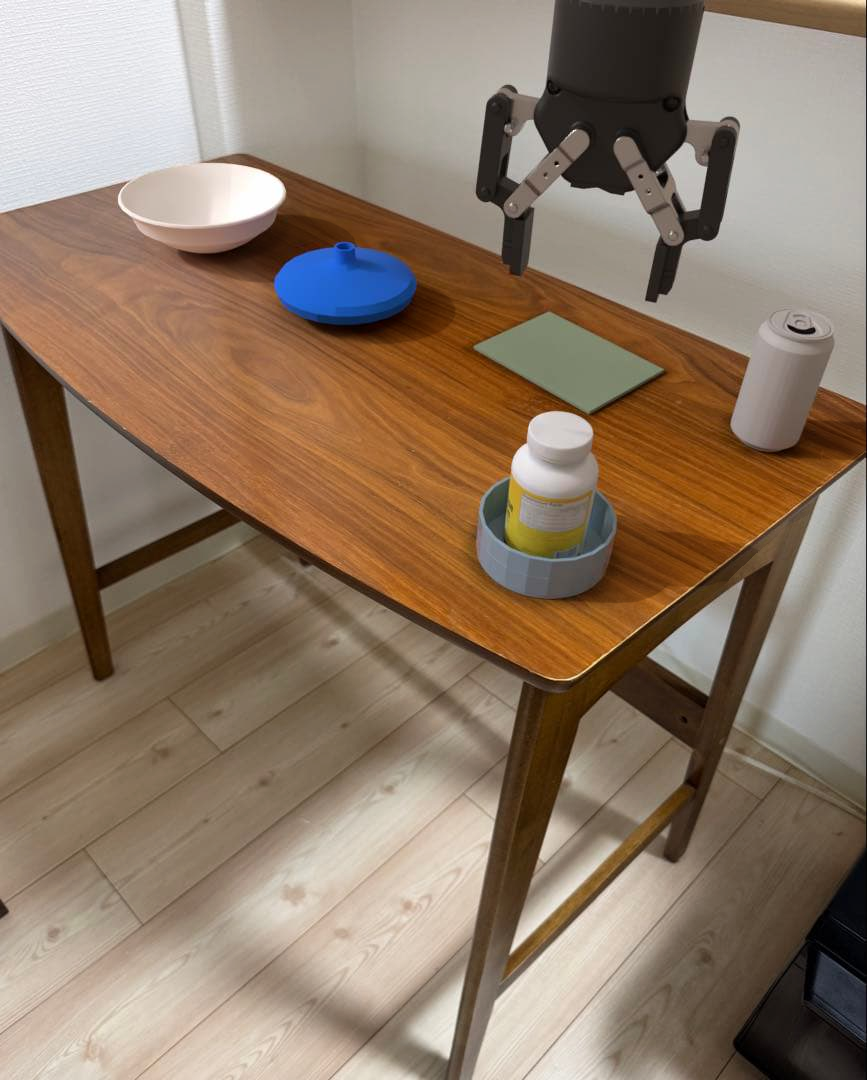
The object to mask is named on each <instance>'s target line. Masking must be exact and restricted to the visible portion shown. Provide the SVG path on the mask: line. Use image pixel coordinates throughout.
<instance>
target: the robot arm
mask: <svg viewBox="0 0 867 1080" xmlns="http://www.w3.org/2000/svg"><path fill="white" fill-rule="evenodd" d="M706 4H707V0H554V6H553V17H552V23H551V24H552V25H551V34H550V44H549V53H548V61H547V62H548V63H547V70H546V80H545V87H544V90H543V92H542V95H541V97H535V96H531V95H526V94H523V93H522V94H521V93H519V92H518V89H517V88H516V87H515V86H514V85H513V84H509V83H508V84H504V85H502V86H501V87H500V88H499V89H498V90H497V91H496V92H495V93H494V94H493V95H491V97H489V98H488V100H487V102H486V105H485V111H484V120H483V127H482V128H483V129H482V136H481V144H480V152H479V159H478V167H477V175H476V183H475V196H476V198H477V199H478V200H479V201H480V202H482V203H491V204H493V205H495V206H497V207H498V208H500V210H501V211H502V213H503V217H504V218H503V231H502V240H501V241H502V242H501V243H502V244H501V252H500V253H501V254H500V256H501V260H502V263H503V265H505V266H509V269H508V270H509V271H508V274H509V275H510V276H516V277H522V275H523V274H524V273H525V271H526V269H527V267H528V265H529V261H530V255H531V253H530V252H531V244H532V236H533V225H534V217H535V210H536V209H535V207H532V206H531V205H532V204H533V203H535V201H537V199H538V198H539V197H540V196H542V195H543V194H544V193H545V192H546V191H547V189H549V188H550V187H551V186H552V185H553V183H554V182H555V181H556V180H557V179H559V177H560V176H561V178H562V179H563V180H565V181H566V182H567V183H569V184H570V186H569V188H575V189H580V190H588V189H600V190H602V191H604V192H606V193H608V194H612V195H616V196H625V194H626V193H630V192H633V191H635V194H636V195H637V198H638V199H639V202H640V203H641V205H642V207H643V209H644V211H645V212H646V214H647V215H649V216H650V217H651V219H652V221H653V223H654V225H655V226H656V229H657V230H658V233H659V234H660V235H659V237H658V239H657V242H656V245H655V250H654V254H653V260H652V264H651V268H650V273H649V279H648V283H647V288H646V293H645V298H644V301H645V302H649V303H654V304H657V302H658V300H659V297H660V295H663V296H668V294H669V293H670V291H671V290H672V289H673V286H674V283H675V280H676V277H677V273H678V268H679V265H680V260H681V255H682V251H683V247H684V245H685V244H686V243H688V242H691V241H695V240H701V241H703V242H711V241H714V240H715V239H716V238H717V237H718V235H719V232H720V228H721V223H722V221H723V220H724V219H723V218H724V215H725V209H726V205H727V200H728V199H727V198H728V194H729V188H730V183H731V179H732V173H733V167H734V162H735V157H736V152H737V146H738V141H739V135H740V130H741V124H740V121H739V120H738V118H736V117H735V116H732V115H731V116H729V115H728V116H725V117H723V118H721V119H720V121H712V120H711V121H710V120H699V119H697V120H696V119H690V117H689V115H688V111H687V110H688V109H687V95H688V90H689V84H690V80H691V75H692V71H693V70H692V69H693V65H694V61H695V56H696V52H697V47H698V42H699V38H700V32H701V28H702V27H701V26H702V23H703V18H704V14H705V7H706ZM530 120H532V121H533V123H534V126H535V129H536V131H537V133H538V134H539V137H540V138H541V141H542V142H543V145H544V146H545V148H546V150H547V154H546V155H545V156H544V157H543V158H542V159H541V160H540V161H539V162H538V163H537V164H536V165H535V167H534V168H532V170H531V171H530V172H529V173H528V174H527V175H526V176H525V178H523V179H522V181H521V182H520V183H518V182H516V181H514V180H513V179H512V178H510V177H508V170H509V164H510V158H511V150H512V144H513V138H514V137H516V136H517V135H519V134H520V132H522V131H523V129H525V126H526V122H527V121H530ZM685 143H686V144H689V145H690V146H692V148H693V149H694V159H695V161H696V163H697V164H698V165H699V166H701V167H706V168H707V169H706V173H705V179H704V184H703V189H702V196H701V202H700V208H699V209H694V210H687V208H686V206H685V205H684V203H683V200H682V198H681V196H680V194H679V192H678V189H677V184H676V181H675V179H674V176H673V174H672V172H671V169H670V168H669V165H668V164H667V162H668V161H669V160H670V158H672V157H673V156H674V155H675V154H676V153H677V152H678V151H679V150H680V149H681V148H682V147H683V145H684V144H685Z"/></svg>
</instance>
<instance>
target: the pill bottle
mask: <svg viewBox="0 0 867 1080" xmlns="http://www.w3.org/2000/svg"><path fill="white" fill-rule="evenodd" d="M593 441H594V429H593V427H592V425H591V424H590V423H589V422H588V421H587V420H586V419H585V418H583V417H581V416H579V415H577V414H575V413H571V412H569V411H568V412H566V411H561V410H560V411H559V410H558V411H557V410H555V411H554V410H553V411H547V412H543V413H540V414H538V415H535V416H534V417H533V418H532V419H531V420H530V422H529V425H528V427H527V436H526V443H524V444H523V445H521V446H520V447H519V448H518V450H517V451H516V452H515V453H514V456H513V457H512V461H511V466H510V467H511V468H510V475H509V477H510V485H509V494H508V503H507V511H506V520H505V529H504V543H505V544H506V545H508V546H509V547H510V548H512V549H515V550H517V551H520V552H523V553H525V554H528V555H530V556H536V557H543V558H549V559H560V558H574V557H577V556H580V555H582V553H583V550H584V546H585V540H586V535H587V530H588V525H589V521H590V516H591V511H592V506H593V501H594V496H595V491H596V489H597V486H598V480H599V473H600V471H599V463H598V460H597V459H596V457H595V456H594V454H593V453H592V452H591V450H592V448H593Z"/></svg>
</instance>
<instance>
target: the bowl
mask: <svg viewBox="0 0 867 1080" xmlns="http://www.w3.org/2000/svg"><path fill="white" fill-rule="evenodd" d="M286 198H287V190H286V187H285V184H284V183H283V182H282V181H281V180H280V179H279V177H276V176H275V175H273V174H271V173H269V172H267V171H264V170H262V169H260V168H255V167H251V166H248V165H241V164H235V163H225V162H224V163H223V162H197V163H185V164H178V165H172V166H167V167H161V168H157V169H156V170H152V171H149V172H146V173H143V174H141V175H139V176H136V177H135V178H133V179H131V180H130V181H128V182H127V183H126V184H125V185H124V186H123V187H122V188H121V189H120V191H119V193H118V195H117V202H118V205H119V207H120V209H121V211H123V212H124V213H125V214H127V215H128V216H129V217H130V218H131V219H132V220H133V222H134V224H135V225H136V227H137V229H138V230H139V231H140V232H141V233H142V234H143V235H145V236H146V237H148V238H151V239H153V240H155V241H159V242H160V243H162V244H164V245H167V246H168V247H170V248H173V249H176V250H179V251H184V252H189V253H193V254H217V253H224V252H227V251H230V250H233V249H235V248H238V247H240V246H243V245H245V244H247V243H249V242H251V241H252V240H254V239H255V238H256V237H257V236H259V235H260V234H262V233H263V232H265V231H267V230H268V229H269V228H270V227H271V226H272V225H273V224H274V222H275V221H276V217H277V214H278V210H279V208H280V207H281V206H282V205H283V203H284V201H285V200H286Z"/></svg>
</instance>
